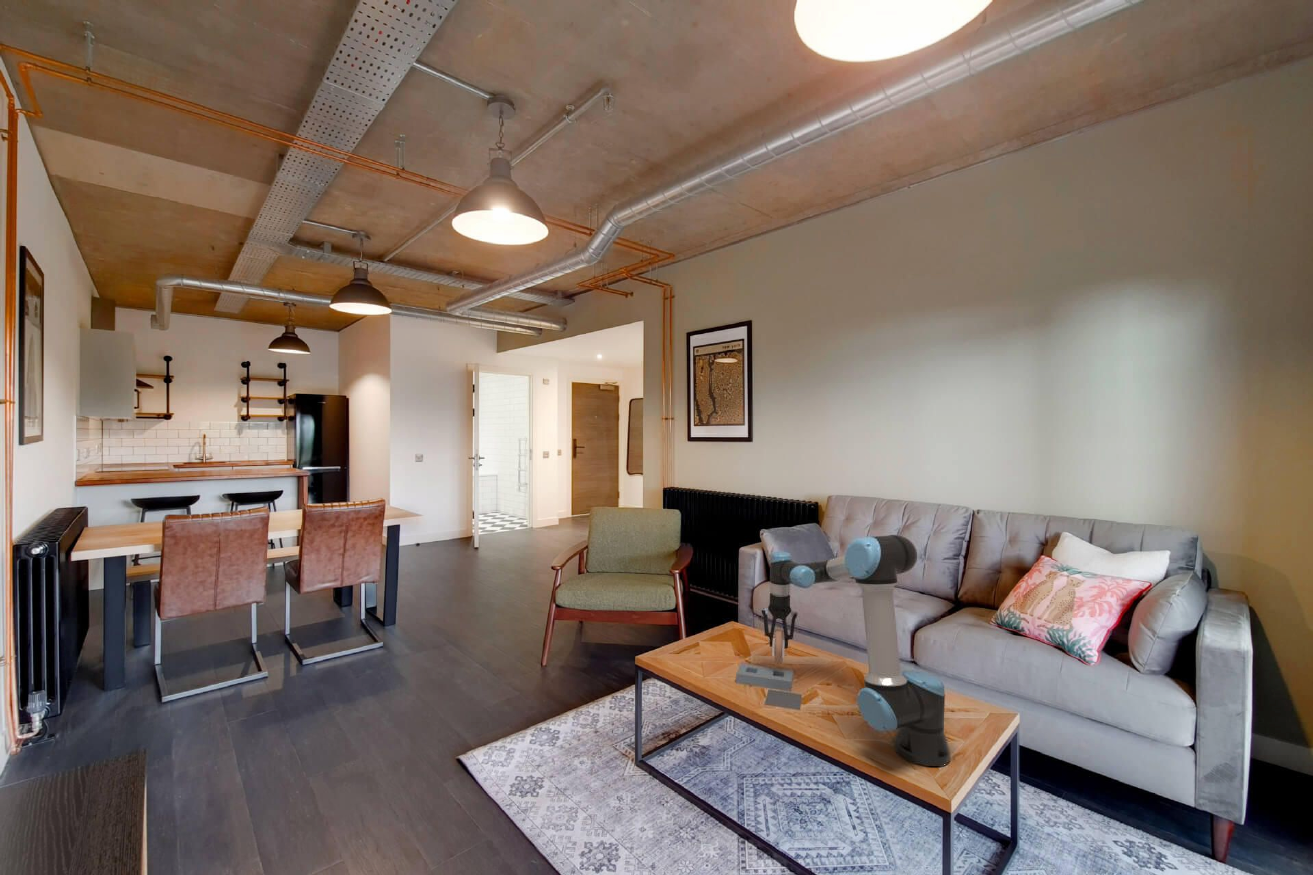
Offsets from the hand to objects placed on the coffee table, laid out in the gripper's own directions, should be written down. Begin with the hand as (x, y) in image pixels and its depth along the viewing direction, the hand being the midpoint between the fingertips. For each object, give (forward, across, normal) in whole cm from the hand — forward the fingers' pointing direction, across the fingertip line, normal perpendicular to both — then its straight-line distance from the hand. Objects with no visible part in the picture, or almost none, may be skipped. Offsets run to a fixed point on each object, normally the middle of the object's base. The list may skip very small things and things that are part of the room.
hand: (778, 655), depth 211 cm
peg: (+3, 0, 0) cm, 3 cm away
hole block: (+11, +5, 0) cm, 12 cm away
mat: (+11, -3, +12) cm, 17 cm away
